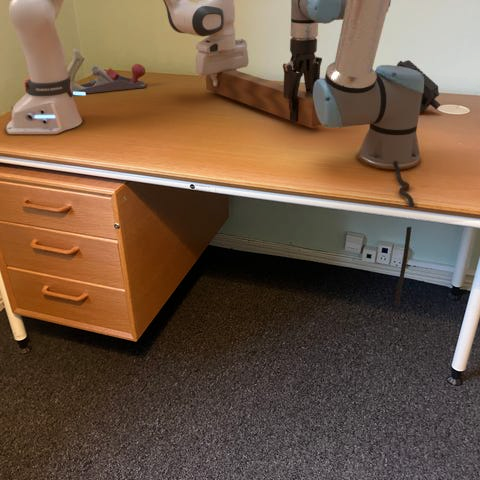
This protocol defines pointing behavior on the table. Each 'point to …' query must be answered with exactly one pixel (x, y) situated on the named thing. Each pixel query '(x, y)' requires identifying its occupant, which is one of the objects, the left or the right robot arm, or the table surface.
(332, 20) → the right robot arm
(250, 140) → the table surface
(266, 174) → the table surface
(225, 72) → the bar
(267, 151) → the table surface
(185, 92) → the table surface
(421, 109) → the tool
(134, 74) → the hand plane
